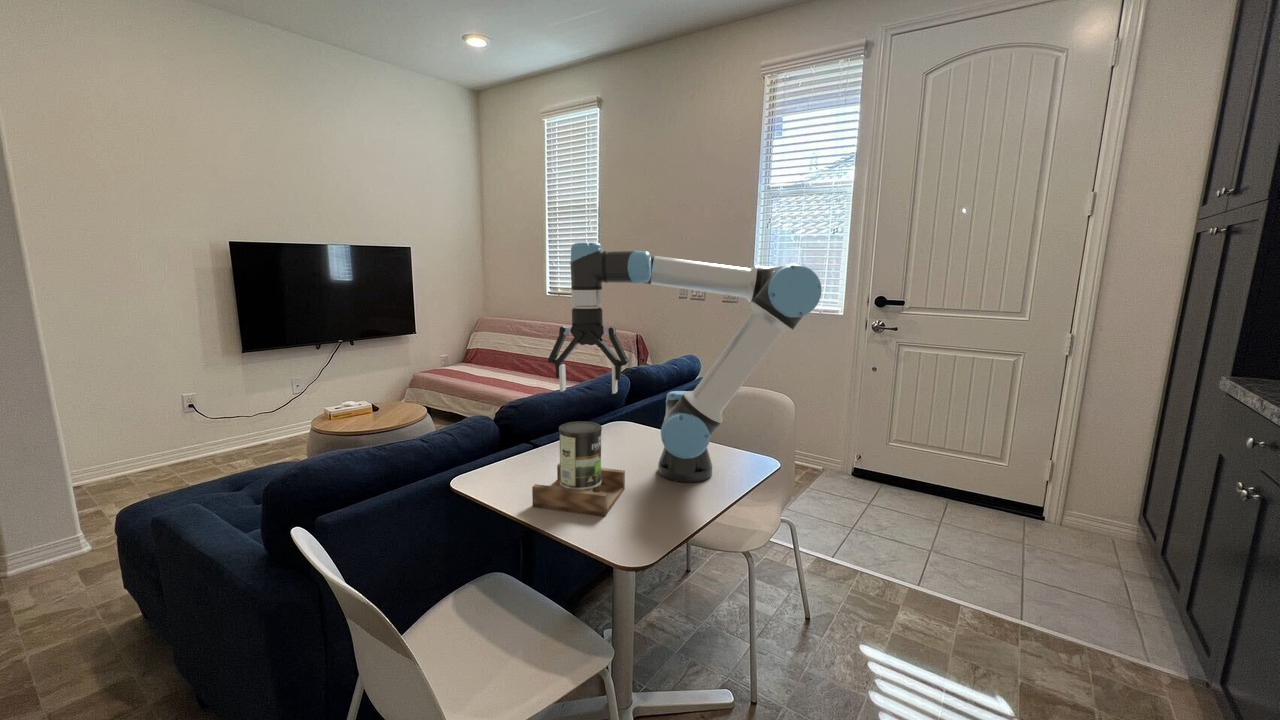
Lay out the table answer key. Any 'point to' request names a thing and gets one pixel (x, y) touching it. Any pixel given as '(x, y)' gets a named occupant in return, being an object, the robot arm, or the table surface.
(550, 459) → the table surface
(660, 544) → the table surface
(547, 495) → the wooden tray
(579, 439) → the coffee can
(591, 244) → the robot arm
